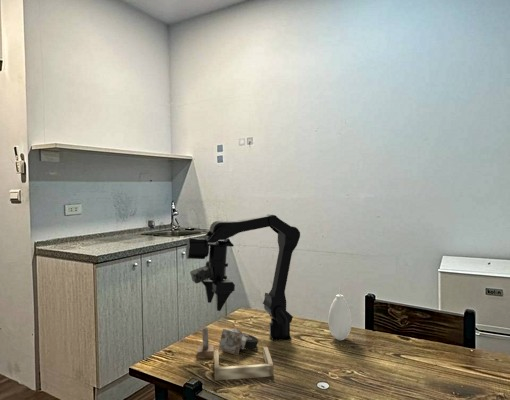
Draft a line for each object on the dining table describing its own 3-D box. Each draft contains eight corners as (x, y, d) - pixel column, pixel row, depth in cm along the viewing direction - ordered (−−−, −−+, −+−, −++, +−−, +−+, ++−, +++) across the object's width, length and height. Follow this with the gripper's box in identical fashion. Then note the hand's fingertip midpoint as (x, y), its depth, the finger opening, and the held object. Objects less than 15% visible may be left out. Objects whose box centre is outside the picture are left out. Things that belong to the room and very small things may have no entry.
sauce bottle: (354, 337, 126) (354, 286, 126) (347, 345, 119) (347, 292, 119) (333, 333, 130) (332, 283, 130) (325, 340, 124) (324, 288, 123)
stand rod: (213, 350, 117) (213, 326, 117) (213, 357, 112) (213, 332, 112) (198, 351, 117) (197, 326, 117) (197, 358, 112) (196, 333, 112)
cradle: (267, 356, 113) (267, 346, 113) (273, 376, 101) (273, 365, 101) (214, 359, 111) (214, 350, 111) (214, 380, 99) (214, 369, 99)
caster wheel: (256, 351, 122) (251, 360, 113) (225, 341, 125) (217, 350, 115) (261, 331, 123) (256, 338, 113) (229, 322, 125) (222, 329, 115)
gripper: (186, 254, 124) (182, 299, 124) (202, 265, 107) (198, 317, 107) (216, 254, 129) (213, 298, 129) (237, 264, 112) (233, 314, 112)
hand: (213, 306), depth 119 cm, fingers open, 9 cm apart
